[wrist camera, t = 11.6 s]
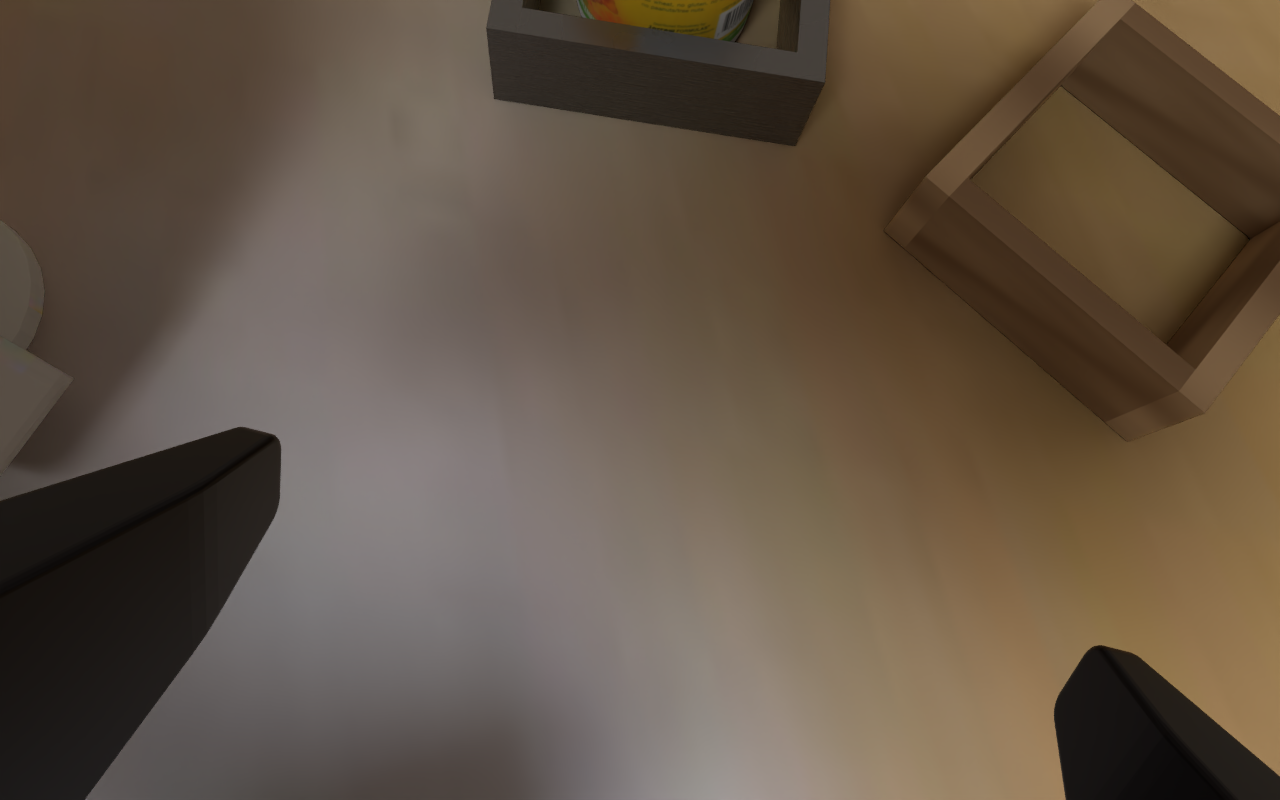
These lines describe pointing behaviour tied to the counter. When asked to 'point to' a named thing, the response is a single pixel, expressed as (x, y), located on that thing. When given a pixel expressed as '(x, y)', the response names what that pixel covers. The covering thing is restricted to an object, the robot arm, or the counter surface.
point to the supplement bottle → (674, 15)
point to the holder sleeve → (1057, 292)
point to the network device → (22, 348)
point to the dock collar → (662, 70)
